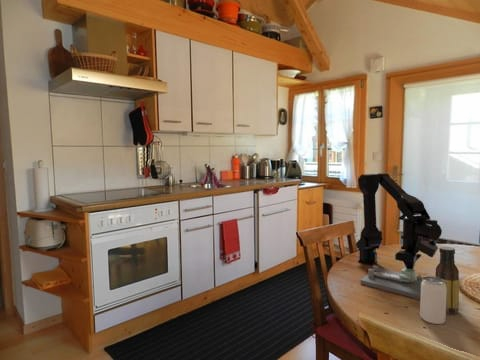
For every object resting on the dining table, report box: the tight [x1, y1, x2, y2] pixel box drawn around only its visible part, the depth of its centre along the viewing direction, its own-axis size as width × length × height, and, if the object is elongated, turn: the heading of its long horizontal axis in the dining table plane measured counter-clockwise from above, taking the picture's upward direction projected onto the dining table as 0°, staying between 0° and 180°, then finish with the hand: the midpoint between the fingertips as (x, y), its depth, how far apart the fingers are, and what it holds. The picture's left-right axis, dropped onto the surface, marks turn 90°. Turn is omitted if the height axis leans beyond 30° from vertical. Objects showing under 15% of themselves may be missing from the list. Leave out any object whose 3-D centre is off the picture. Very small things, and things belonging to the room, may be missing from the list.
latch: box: [399, 267, 416, 282], centre depth 118 cm, size 4×6×4 cm, turn 138°
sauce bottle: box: [434, 245, 460, 315], centre depth 99 cm, size 6×6×20 cm
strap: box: [374, 271, 411, 282], centre depth 120 cm, size 14×3×1 cm, turn 48°
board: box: [360, 264, 424, 301], centre depth 119 cm, size 22×17×4 cm
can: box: [419, 276, 447, 325], centre depth 94 cm, size 6×6×12 cm
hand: (410, 273), depth 122 cm, fingers closed
